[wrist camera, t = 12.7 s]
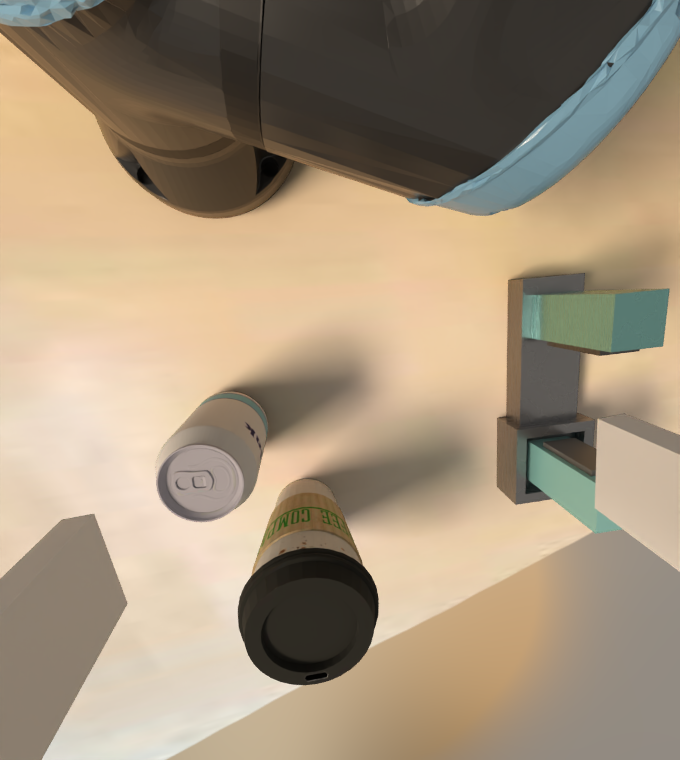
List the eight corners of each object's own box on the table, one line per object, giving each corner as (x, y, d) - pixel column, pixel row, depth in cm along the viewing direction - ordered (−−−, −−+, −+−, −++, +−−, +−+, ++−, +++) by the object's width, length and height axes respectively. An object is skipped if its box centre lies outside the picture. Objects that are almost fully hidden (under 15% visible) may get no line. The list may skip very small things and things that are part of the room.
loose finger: (528, 436, 37) (599, 479, 28) (567, 431, 37) (650, 472, 28) (526, 478, 38) (595, 533, 29) (565, 473, 38) (644, 525, 29)
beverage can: (272, 452, 37) (259, 524, 25) (201, 459, 36) (155, 536, 24) (265, 385, 35) (248, 429, 23) (191, 391, 34) (136, 440, 23)
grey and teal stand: (498, 281, 35) (589, 273, 24) (575, 273, 36) (698, 263, 25) (497, 486, 40) (571, 558, 29) (564, 476, 41) (662, 542, 30)
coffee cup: (348, 456, 38) (379, 556, 23) (356, 539, 40) (389, 678, 25) (251, 469, 37) (220, 582, 22) (265, 553, 39) (245, 705, 24)
